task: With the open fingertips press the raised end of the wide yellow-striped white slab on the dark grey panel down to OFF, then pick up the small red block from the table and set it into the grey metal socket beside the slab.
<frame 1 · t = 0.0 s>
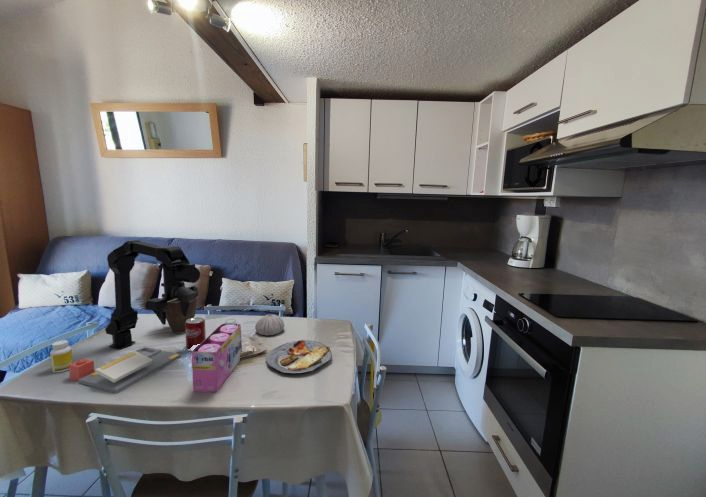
hand: (174, 320, 115), 15 cm above the table, fingers open, 9 cm apart
plant pot: (181, 330, 141), on the table
red block: (82, 376, 102), on the table
gum box: (220, 373, 107), on the table
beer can: (231, 349, 124), on the table
sea urchin shell: (270, 331, 143), on the table
yellow-striped white slab: (125, 365, 101), point 4 cm above the table, hinge at 14.0°
socket: (143, 358, 114), resting on panel
soda can: (196, 348, 124), on the table
food plate: (299, 360, 118), on the table
supplement bottle: (62, 369, 106), on the table
panel: (134, 368, 107), on the table
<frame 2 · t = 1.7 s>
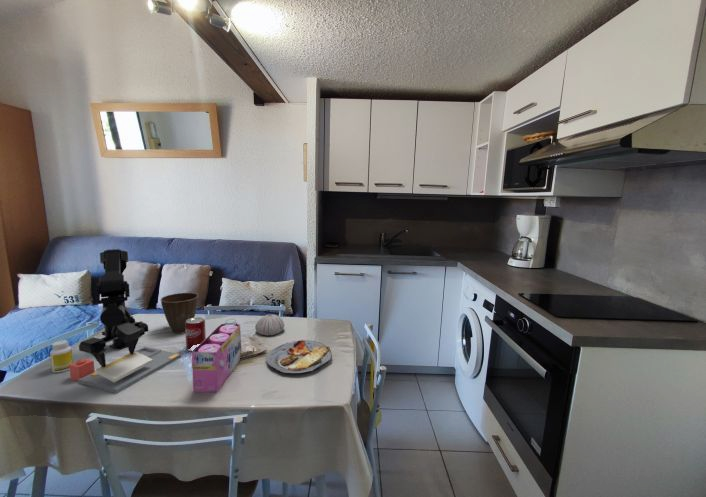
hand: (118, 360, 102), 6 cm above the table
yellow-striped white slab: (125, 365, 101), point 4 cm above the table, hinge at 12.6°, touching gripper
everything else where it was.
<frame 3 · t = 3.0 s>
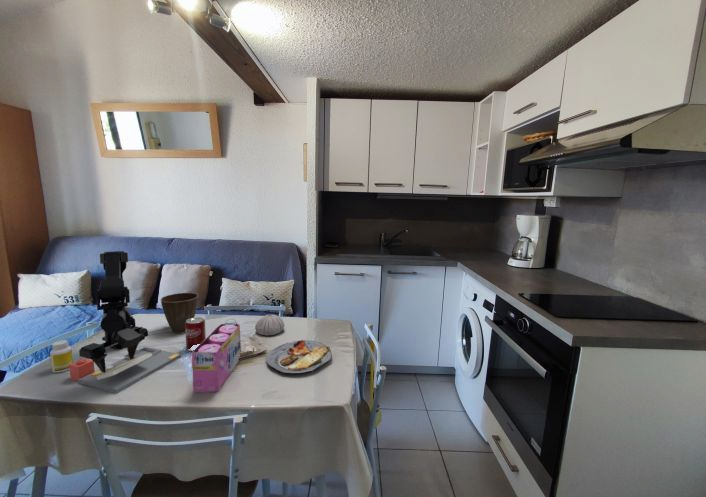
hand: (118, 365, 102), 4 cm above the table
yellow-striped white slab: (125, 365, 101), point 4 cm above the table, hinge at -22.7°, touching gripper
everything else where it was.
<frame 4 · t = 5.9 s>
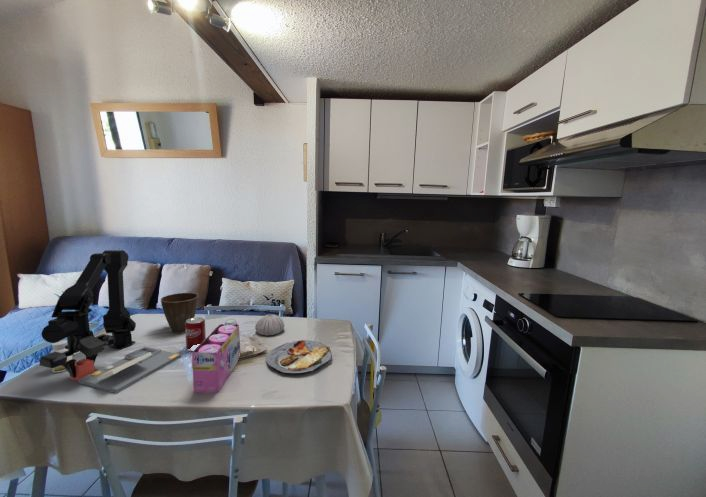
hand: (82, 373, 102), 1 cm above the table, fingers closed on red block, 4 cm apart
red block: (82, 376, 102), on the table, touching gripper
yellow-striped white slab: (125, 365, 101), point 4 cm above the table, hinge at -27.4°
everything else where it was.
when the fingers open (4 cm above the table, at t = 9.6 s): red block drops 1 cm, resting on panel.
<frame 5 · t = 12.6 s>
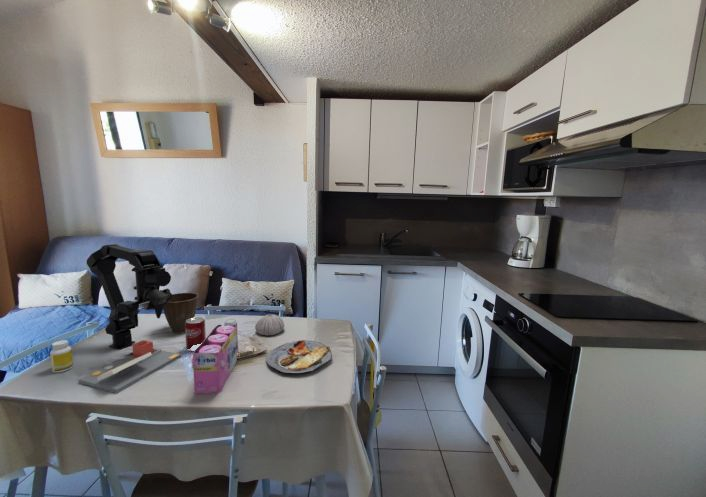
hand: (147, 322, 118), 12 cm above the table, fingers open, 9 cm apart
red block: (143, 355, 114), point 1 cm above the table, touching panel
everything else where it was.
at the end: yellow-striped white slab at -28° (first picture: +14°); red block 0.0 cm off-centre on the socket, point 1.2 cm above the socket's base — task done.
